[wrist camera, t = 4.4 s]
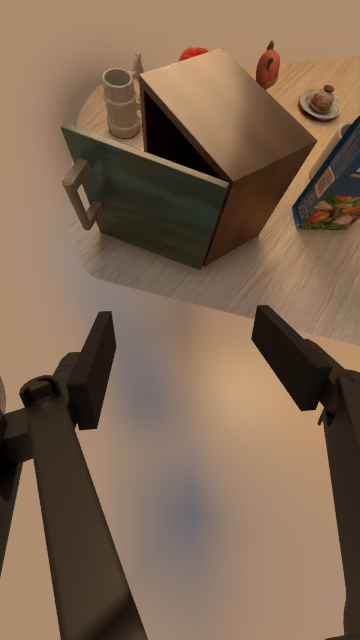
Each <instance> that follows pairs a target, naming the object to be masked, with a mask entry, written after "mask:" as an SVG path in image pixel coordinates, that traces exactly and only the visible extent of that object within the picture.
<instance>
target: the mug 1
mask: <svg viewBox="0 0 360 640" xmlns="http://www.w3.org/2000/svg"><path fill="white" fill-rule="evenodd" d="M142 73H144V72H143V67H142V63H141V54H140V53H138V52H136V59H135V61H134V64H133V71H131V72H128V71H127V70H124V69H122V68H111V69H109V70H107V71H105V72H104V73H103V75H102V81H103V88H104V92H103V95H104V100H105V102H106V107H107V113H108V115H107V123H108V126H109V128H110V131H111V132H112V133H113V135H115V136H117V137H119V138H131V137H133V136H135V135H136V134H137V132H138V130H139V117H138V115H137V110H141V98H140V94H139V99H138V101H136V92H135V91H134V83H133V80H134V79H137V80H138V82H139V74H142ZM139 84H140V83H139Z"/></svg>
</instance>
